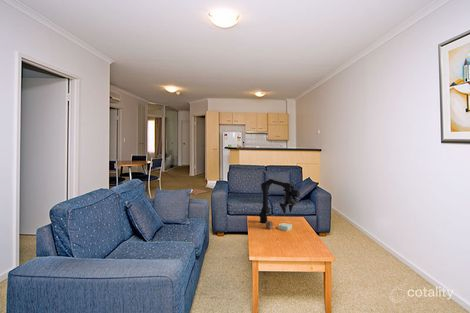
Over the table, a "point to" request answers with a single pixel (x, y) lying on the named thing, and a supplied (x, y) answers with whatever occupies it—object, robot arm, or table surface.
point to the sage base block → (285, 226)
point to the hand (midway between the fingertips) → (287, 212)
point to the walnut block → (269, 225)
